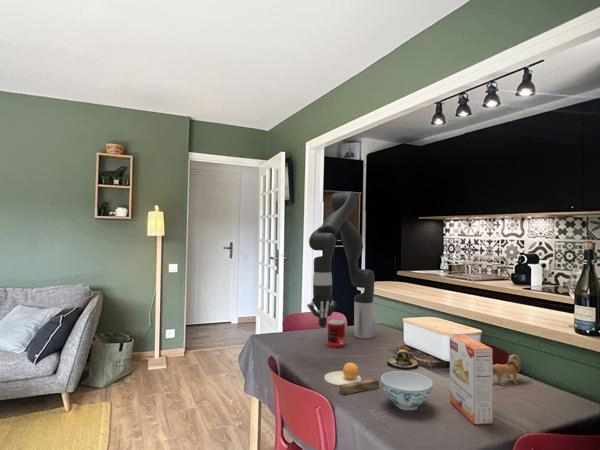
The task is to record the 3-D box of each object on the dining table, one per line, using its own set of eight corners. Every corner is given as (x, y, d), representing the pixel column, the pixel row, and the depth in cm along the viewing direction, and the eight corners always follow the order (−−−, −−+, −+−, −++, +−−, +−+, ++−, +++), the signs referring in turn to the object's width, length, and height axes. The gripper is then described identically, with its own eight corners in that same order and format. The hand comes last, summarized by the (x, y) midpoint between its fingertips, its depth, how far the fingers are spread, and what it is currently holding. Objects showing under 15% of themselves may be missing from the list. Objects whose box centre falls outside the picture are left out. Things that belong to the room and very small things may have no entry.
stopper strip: (375, 385, 130) (375, 378, 130) (378, 388, 129) (378, 380, 129) (339, 392, 125) (339, 384, 125) (342, 395, 123) (342, 387, 123)
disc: (348, 369, 145) (348, 369, 145) (368, 382, 133) (368, 381, 133) (318, 374, 140) (318, 374, 140) (335, 388, 128) (335, 387, 128)
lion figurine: (511, 376, 139) (511, 352, 139) (525, 382, 134) (525, 356, 135) (483, 383, 133) (483, 357, 133) (496, 389, 128) (496, 362, 128)
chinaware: (375, 395, 123) (375, 371, 123) (420, 394, 124) (420, 370, 124) (389, 418, 108) (389, 391, 108) (441, 417, 109) (441, 389, 109)
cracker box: (448, 402, 118) (448, 334, 118) (467, 401, 119) (467, 334, 119) (472, 425, 104) (472, 348, 104) (494, 424, 105) (494, 347, 105)
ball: (351, 367, 141) (355, 357, 138) (358, 380, 137) (363, 371, 134) (338, 370, 139) (342, 361, 136) (345, 384, 135) (350, 374, 132)
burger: (382, 366, 150) (382, 347, 150) (394, 358, 159) (394, 340, 160) (412, 373, 143) (412, 353, 143) (422, 364, 152) (422, 345, 152)
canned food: (344, 343, 179) (344, 319, 179) (344, 348, 171) (344, 323, 171) (328, 342, 180) (328, 319, 180) (327, 347, 172) (327, 323, 172)
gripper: (332, 281, 158) (332, 323, 158) (303, 282, 152) (303, 326, 152) (341, 283, 151) (341, 327, 151) (311, 285, 146) (311, 331, 145)
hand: (322, 327), depth 152 cm, fingers closed
